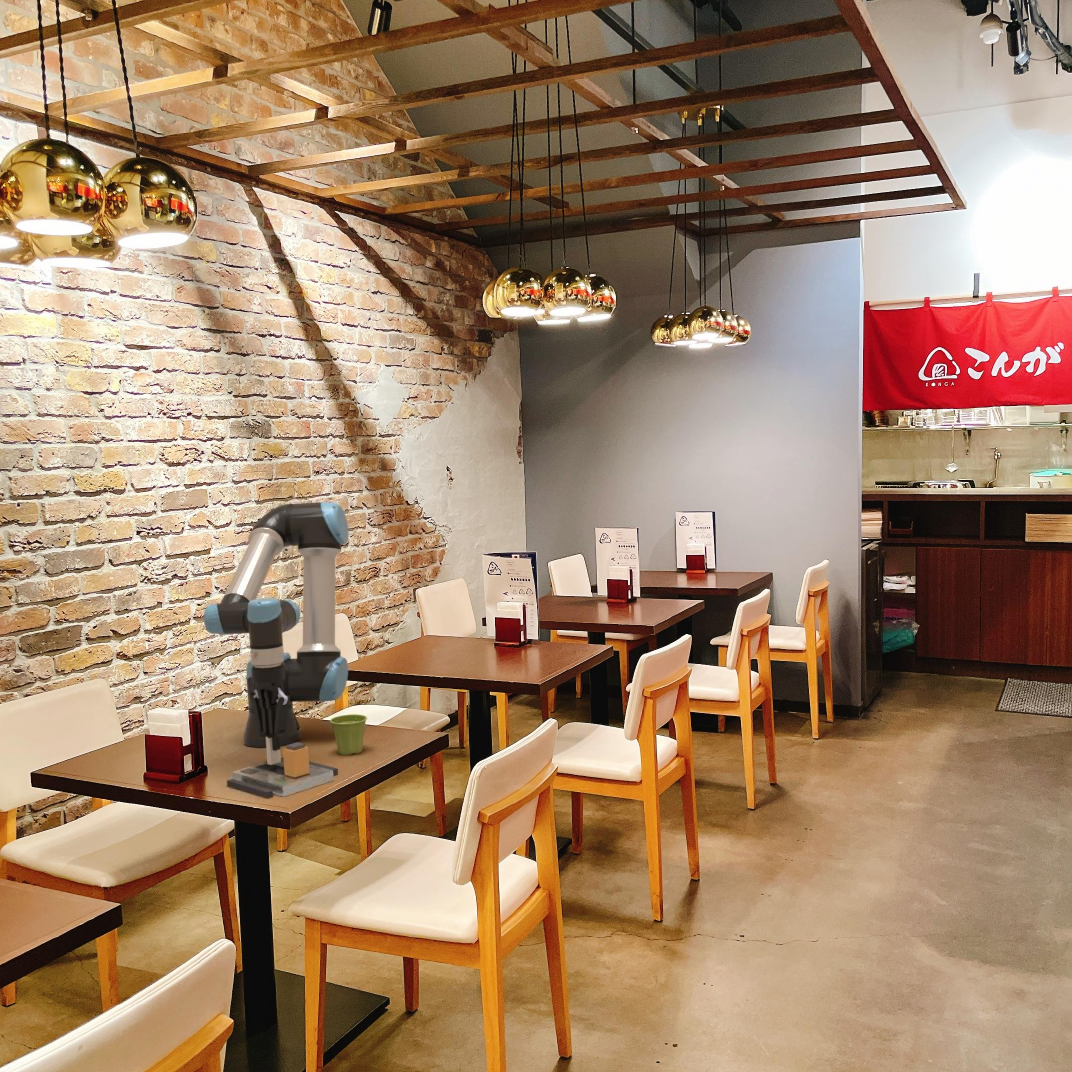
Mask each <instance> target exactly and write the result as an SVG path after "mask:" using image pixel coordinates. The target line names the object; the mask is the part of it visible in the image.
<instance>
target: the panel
mask: <svg viewBox="0 0 1072 1072" xmlns="http://www.w3.org/2000/svg"><path fill="white" fill-rule="evenodd" d="M280 758H281V762H279V763H276V764H273V765H270V764H267V761H264V762H261V763H257V764H254V765H251V766H247V767H244V768H241V769H236V770H234V771H231V779H234V780H238V781H241V782H244V783H248V784H251V785H255V786H258V787H262V788H265V789H269V790H272V791H273V795H277V796H278V797H282V798H283V797H284V798H285V797H287V796H290V795H293V794H296V793H299V792H303V791H306V790H309V789H311V788H315V787H317V786H320V785H324V784H327V783H331V782H333V781H334V780H335V779H334V778H335V777H334V776H333V770H330V769H326V768H322V767H318V766H314V765H310V764H309V772H310V773H308V774H305V775H302V776H298V777H292V776H288V775H285V772H284V757H282V756H280Z"/></svg>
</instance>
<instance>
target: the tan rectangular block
mask: <svg viewBox="0 0 1072 1072" xmlns="http://www.w3.org/2000/svg"><path fill="white" fill-rule="evenodd" d="M282 753H283V754H282V755H283V758H284V772H285V775H288V776H292V777H298V776H302V775H305V774H308V773H310V772H309V760H310V758H309V757H310V756H309V746H306V744H305V743H302V742H297V741H295V742H293V743H289V744H285V748H282Z"/></svg>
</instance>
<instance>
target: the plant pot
mask: <svg viewBox="0 0 1072 1072" xmlns="http://www.w3.org/2000/svg"><path fill="white" fill-rule="evenodd" d="M367 720H368V717H367V716H366V715H364V714H357V713H355V714H352V713H351V714H342V715H338V716H335V717H332V718H330V719H329V722H330V724H331V726H332V728H333V732H334V733H333V734H334V737H335V743H336V747H337V753H339V755H342V756H344V755H345V756H349V755H352V754H356V755H357V754H359V753H362V751H363V747H364V746H363V744H364V733H365V725H366V721H367Z"/></svg>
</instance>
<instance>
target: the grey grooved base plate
mask: <svg viewBox="0 0 1072 1072" xmlns="http://www.w3.org/2000/svg"><path fill="white" fill-rule="evenodd" d="M309 764H310V765H314V766H318V767H322V768H326V769H330V770H333V777H334V776H337V775H339V769H338V767H334V766H329V765H325V764H321V763H319V762H318V763H317V762H314V761H313V762H312V761H309ZM226 787H229V788H232V789H235V790H238V791H241V792H245V793H248V794H251V795H254V796H257V797H262V798H264V799H270V798H273V797H274V794H273V791H272V790H269V789H265V788H262V787H258V786H255V785H251V784H248V783H244V782H241V781H238V780H234V779H232V778H230V779H227V780H226Z"/></svg>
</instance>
